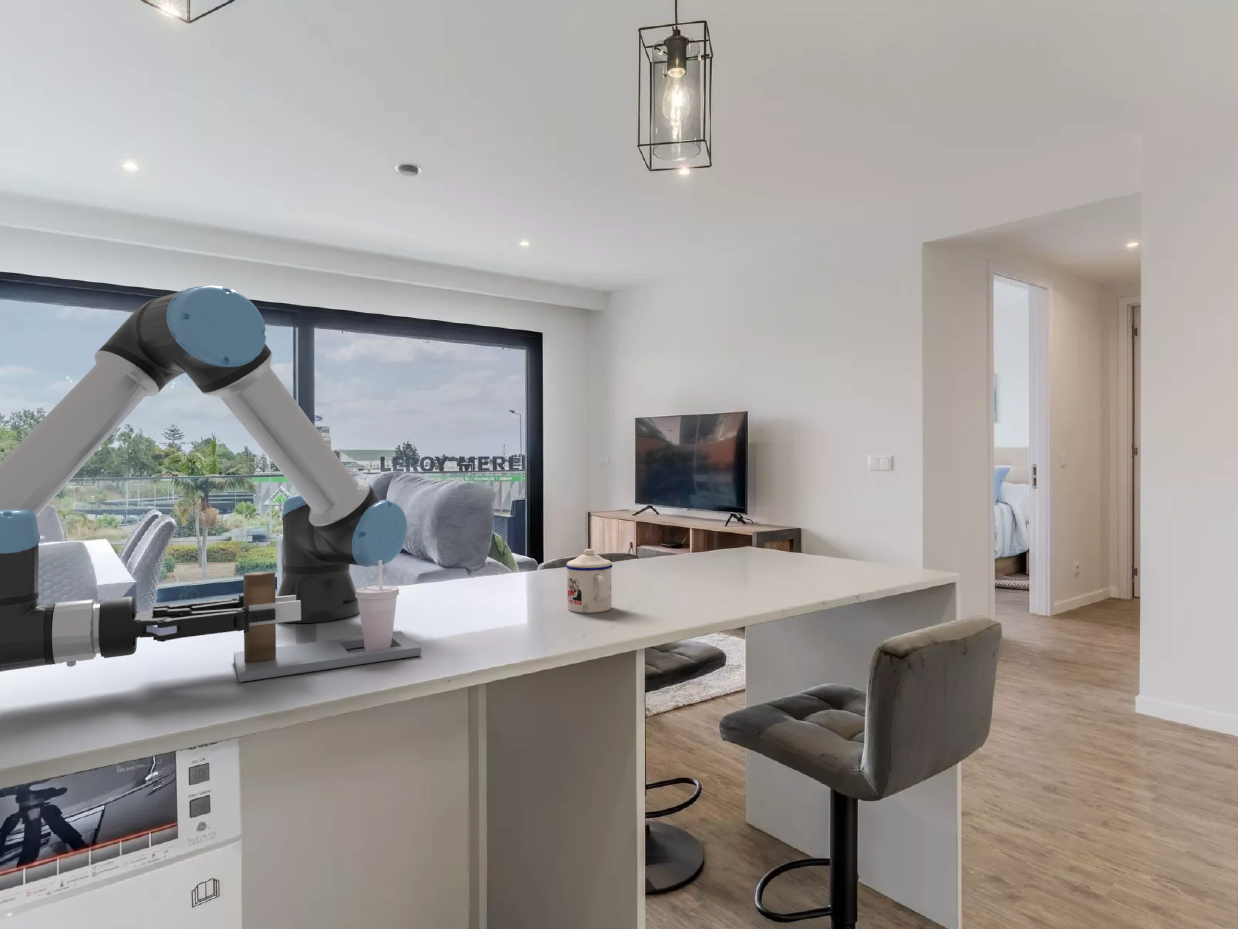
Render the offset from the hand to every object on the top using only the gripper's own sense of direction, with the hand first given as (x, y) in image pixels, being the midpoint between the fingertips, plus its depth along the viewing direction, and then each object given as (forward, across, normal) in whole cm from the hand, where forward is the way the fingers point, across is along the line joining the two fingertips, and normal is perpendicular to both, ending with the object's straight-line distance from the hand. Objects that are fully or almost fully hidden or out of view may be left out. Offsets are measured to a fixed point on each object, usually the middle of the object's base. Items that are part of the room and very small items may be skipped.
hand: (297, 607), depth 104 cm
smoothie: (+11, 0, -8) cm, 14 cm away
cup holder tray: (+4, 0, -8) cm, 9 cm away
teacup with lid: (+54, -9, -9) cm, 55 cm away
